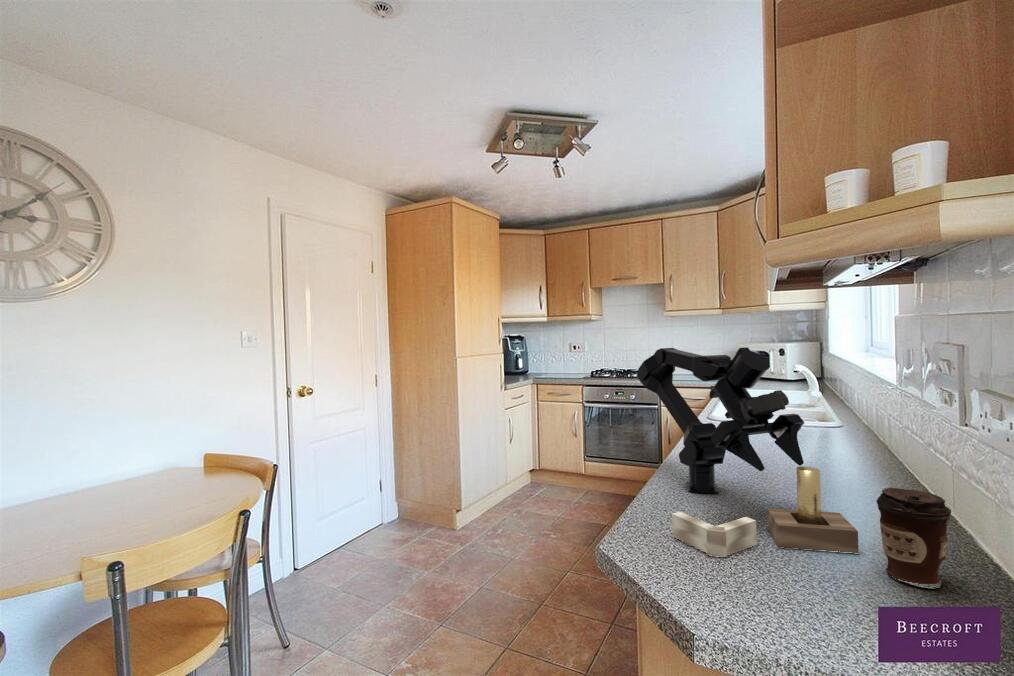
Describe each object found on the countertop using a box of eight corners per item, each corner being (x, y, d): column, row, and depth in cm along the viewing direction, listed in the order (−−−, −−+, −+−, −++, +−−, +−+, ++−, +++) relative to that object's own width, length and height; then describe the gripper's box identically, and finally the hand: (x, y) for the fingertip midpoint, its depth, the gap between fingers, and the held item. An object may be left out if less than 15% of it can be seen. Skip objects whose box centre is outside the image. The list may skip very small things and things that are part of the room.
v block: (672, 534, 90) (671, 510, 90) (755, 542, 85) (754, 517, 85) (673, 552, 83) (672, 527, 83) (763, 562, 78) (762, 535, 78)
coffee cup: (923, 599, 66) (920, 508, 66) (864, 571, 74) (861, 489, 74) (966, 588, 68) (964, 499, 68) (904, 561, 76) (902, 482, 76)
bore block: (767, 528, 90) (766, 508, 90) (840, 534, 87) (839, 512, 87) (778, 547, 83) (778, 525, 83) (858, 554, 79) (858, 531, 79)
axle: (795, 535, 87) (793, 466, 87) (818, 537, 86) (816, 466, 86) (801, 544, 84) (799, 471, 83) (825, 546, 83) (823, 472, 82)
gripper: (718, 380, 93) (765, 449, 82) (794, 374, 97) (847, 438, 87) (694, 414, 100) (733, 481, 90) (765, 407, 105) (811, 469, 95)
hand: (782, 467), depth 90 cm, fingers open, 9 cm apart
